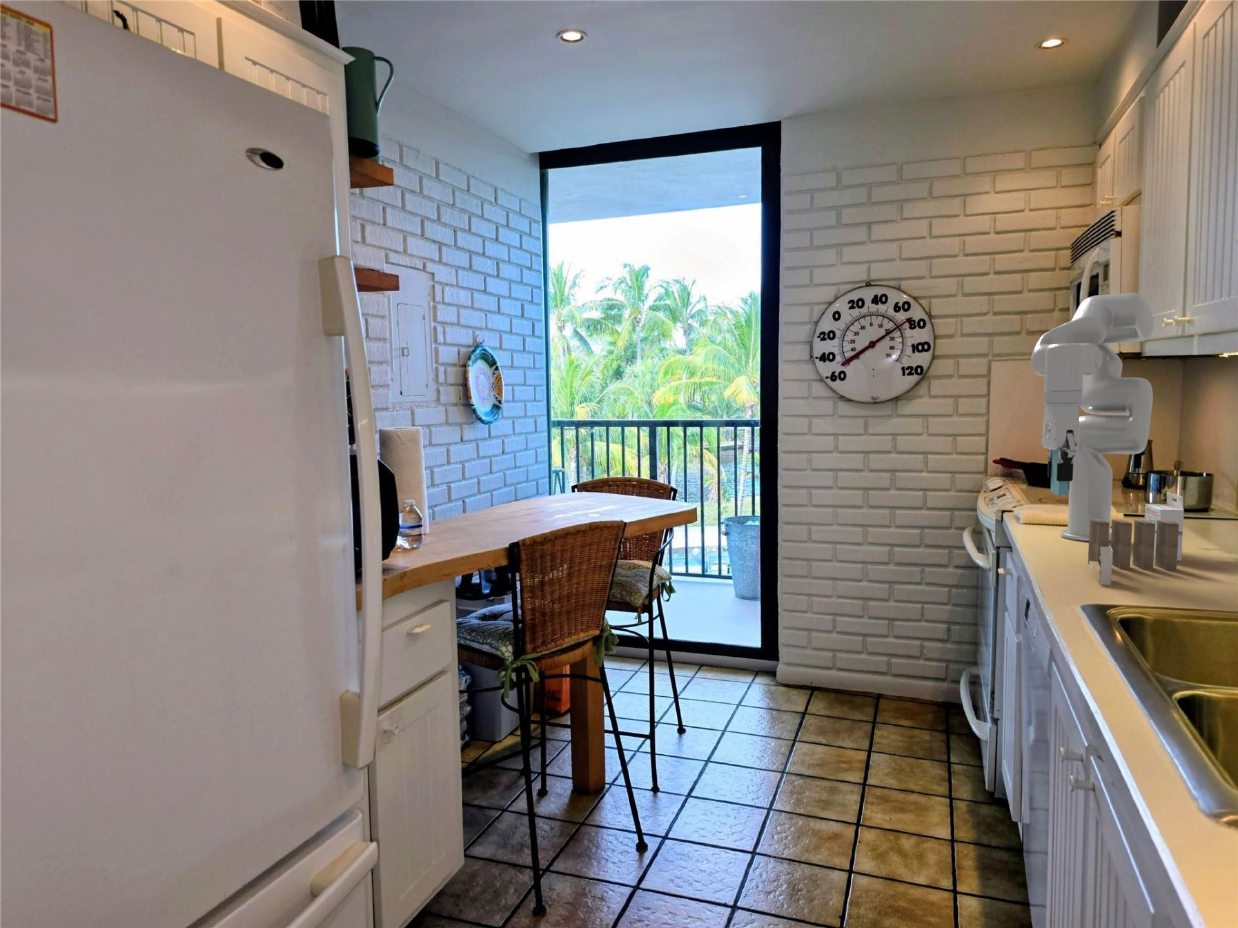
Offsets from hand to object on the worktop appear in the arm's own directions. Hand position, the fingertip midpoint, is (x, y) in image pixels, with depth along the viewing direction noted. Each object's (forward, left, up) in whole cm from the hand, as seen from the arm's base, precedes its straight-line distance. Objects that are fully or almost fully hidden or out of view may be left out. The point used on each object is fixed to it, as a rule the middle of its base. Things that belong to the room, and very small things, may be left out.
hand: (1059, 478), depth 182 cm
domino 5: (+7, +19, -18) cm, 28 cm away
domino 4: (+7, +15, -18) cm, 25 cm away
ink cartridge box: (-5, +24, -19) cm, 31 cm away
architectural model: (+22, +1, -19) cm, 29 cm away
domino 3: (+7, +10, -18) cm, 22 cm away
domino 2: (+7, +6, -18) cm, 21 cm away
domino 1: (0, 0, -4) cm, 4 cm away
